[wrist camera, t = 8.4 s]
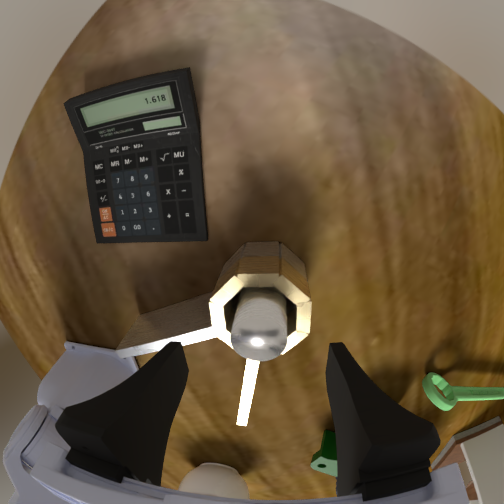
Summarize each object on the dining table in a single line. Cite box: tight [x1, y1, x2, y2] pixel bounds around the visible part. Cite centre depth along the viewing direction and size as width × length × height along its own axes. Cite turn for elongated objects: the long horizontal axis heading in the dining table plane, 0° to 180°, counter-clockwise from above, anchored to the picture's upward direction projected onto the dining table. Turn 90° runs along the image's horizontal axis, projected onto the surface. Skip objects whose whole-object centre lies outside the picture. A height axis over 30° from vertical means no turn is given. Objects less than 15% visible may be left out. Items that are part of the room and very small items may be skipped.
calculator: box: [64, 67, 208, 243], centre depth 18 cm, size 9×12×3 cm
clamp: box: [311, 430, 337, 477], centre depth 25 cm, size 11×6×8 cm, turn 152°
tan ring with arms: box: [115, 241, 311, 426], centre depth 21 cm, size 14×14×5 cm
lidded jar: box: [178, 463, 249, 499], centre depth 30 cm, size 11×11×9 cm
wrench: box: [422, 372, 504, 411], centre depth 22 cm, size 25×2×5 cm, turn 74°
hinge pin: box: [230, 287, 287, 361], centre depth 18 cm, size 3×3×7 cm
